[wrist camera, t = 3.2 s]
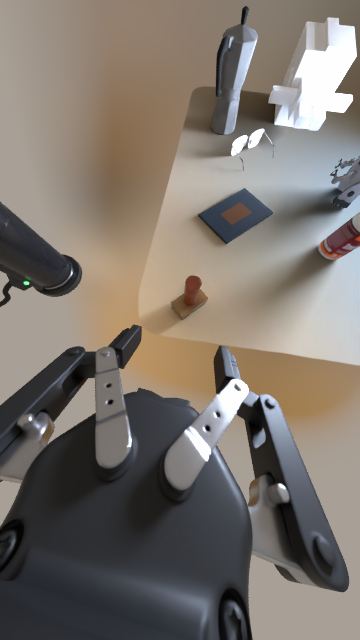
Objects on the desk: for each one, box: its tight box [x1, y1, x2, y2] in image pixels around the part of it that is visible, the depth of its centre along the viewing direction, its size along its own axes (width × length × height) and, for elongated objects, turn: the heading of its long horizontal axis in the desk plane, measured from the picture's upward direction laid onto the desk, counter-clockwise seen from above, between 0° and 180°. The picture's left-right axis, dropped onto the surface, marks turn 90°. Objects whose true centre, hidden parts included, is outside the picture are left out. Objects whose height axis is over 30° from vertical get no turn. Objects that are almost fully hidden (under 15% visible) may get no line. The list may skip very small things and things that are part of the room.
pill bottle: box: [318, 213, 360, 260], centre depth 31 cm, size 6×6×11 cm
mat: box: [199, 188, 273, 244], centre depth 39 cm, size 18×12×1 cm, turn 127°
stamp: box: [171, 276, 208, 320], centre depth 27 cm, size 7×4×10 cm, turn 127°
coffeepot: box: [210, 6, 258, 135], centre depth 41 cm, size 15×9×18 cm, turn 136°
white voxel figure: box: [268, 17, 357, 131], centre depth 45 cm, size 15×25×28 cm
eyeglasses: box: [231, 129, 275, 170], centre depth 44 cm, size 14×8×4 cm, turn 122°
